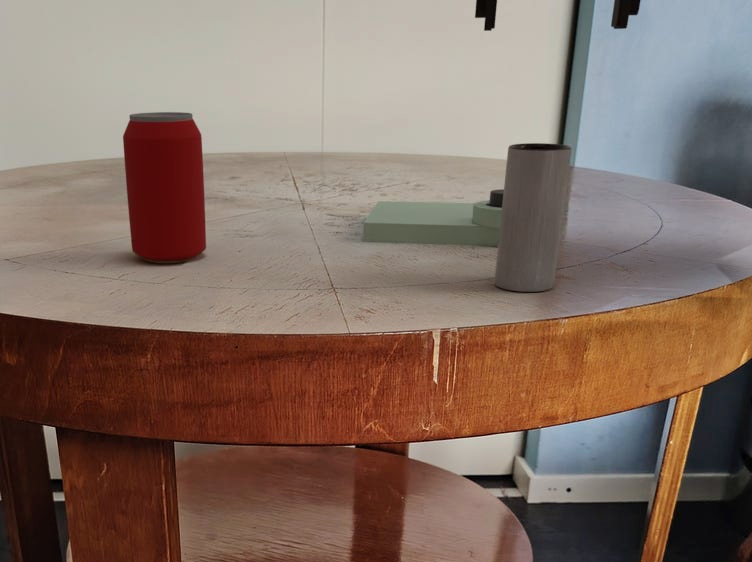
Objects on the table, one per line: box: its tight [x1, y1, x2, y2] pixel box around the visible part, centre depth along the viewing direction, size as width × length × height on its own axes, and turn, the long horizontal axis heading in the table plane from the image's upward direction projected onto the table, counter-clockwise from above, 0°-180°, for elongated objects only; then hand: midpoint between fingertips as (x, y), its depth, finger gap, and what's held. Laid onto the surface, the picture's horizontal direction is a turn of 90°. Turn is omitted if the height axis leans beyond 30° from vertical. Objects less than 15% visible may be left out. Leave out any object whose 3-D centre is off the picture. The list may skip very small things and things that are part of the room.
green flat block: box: [362, 199, 502, 247], centre depth 90 cm, size 16×14×4 cm
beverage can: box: [122, 111, 207, 264], centre depth 79 cm, size 7×7×12 cm
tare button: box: [489, 188, 504, 208], centre depth 84 cm, size 3×3×2 cm
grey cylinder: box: [494, 142, 573, 293], centre depth 69 cm, size 4×4×10 cm
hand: (553, 28), depth 62 cm, fingers open, 8 cm apart
